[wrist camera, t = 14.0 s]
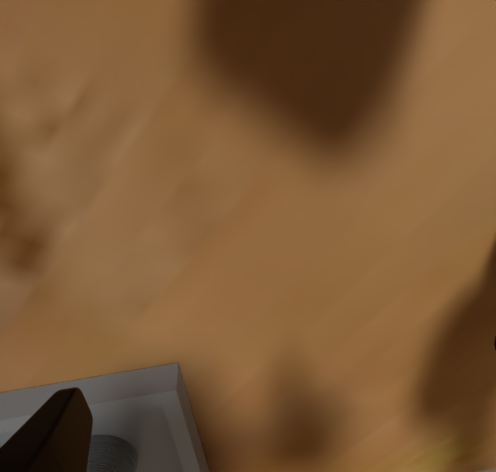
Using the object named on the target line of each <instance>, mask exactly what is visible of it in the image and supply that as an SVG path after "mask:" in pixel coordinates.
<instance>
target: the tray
mask: <svg viewBox="0 0 496 472" xmlns="http://www.w3.org/2000/svg"><path fill="white" fill-rule="evenodd" d="M72 387H78V388H79V389H81V391H82V393H83V395H84V397H85V399H86V402H87V404H88V406H89V408H90V410H91V413H92V417H93V427H92V434H91V435H111V436H116V437H119V438H121V439H124V440H125V441H127V442H128V443H130V444H131V445H132V446H133V447H134V448H135V450H136V452H137V455H138V462H137V468H136V472H209V469H208V465H207V462H206V458H205V455H204V451H203V448H202V444H201V441H200V437H199V434H198V430H197V427H196V423H195V419H194V416H193V412H192V409H191V405H190V402H189V398H188V395H187V391H186V388H185V384H184V381H183V377H182V373H181V370H180V366H179V363H174V364H168V365H162V366H156V367H150V368H144V369H138V370H132V371H127V372H121V373H115V374H109V375H103V376H97V377H91V378H85V379H79V380H73V381H68V382H62V383H56V384H50V385H44V386H38V387H32V388H26V389H20V390H14V391H9V392H3V393H0V448H1V447H2V446H3V445H4V444H5V443H6V442H7V441H8V440H9V439H10V438H11V437H12V436H13V435H14V433H15V432H16V431H17V430H18V429H19V428H20V427H21V426H22V425H23V424H24V423H25V422H26V421H27V420H28V419H29V418H30V417H31V416H32V415H33V414H34V413H35V412H36V411H37V410H38V409H39V408H40V407H41V406H42V405H43V404H44V403H45V402H46V401H47V400H48V399H49V398H50V397H51V396H52V395H53V394H54V393H55V392H57V391H58V390H61V389H67V388H72Z"/></svg>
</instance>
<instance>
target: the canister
mask: <svg viewBox="0 0 496 472" xmlns="http://www.w3.org/2000/svg"><path fill="white" fill-rule="evenodd" d="M137 462H138V455H137V452H136V450H135V448H134V447H133V446H132V445H131V444H130V443H128V442H127V441H125V440H124V439H121V438H119V437H116V436H111V435H91V442H90V449H89V457H88V464H87V471H86V472H136V468H137Z"/></svg>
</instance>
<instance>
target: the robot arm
mask: <svg viewBox="0 0 496 472" xmlns="http://www.w3.org/2000/svg"><path fill="white" fill-rule="evenodd" d="M494 346H495V350H496V336H495V341H494ZM92 427H93V417H92V413H91V410H90V408H89V406H88V404H87V402H86V399H85V397H84V395H83V393H82V391H81V389H79V388H78V387H72V388H67V389H61V390H58V391H57V392H55V393H54V394H53V395H52V396H51V397H50V398H49V399H48V400H47V401H46V402H45V403H44V404H43V405H42V406H41V407H40V408H39V409H38V410H37V411H36V412H35V413H34V414H33V415H32V416H31V417H30V418H29V419H28V420H27V421H26V422H25V423H24V424H23V425H22V426H21V427H20V428H19V429H18V430H17V431H16V432H15V433H14V435H13V436H12V437H11V438H10V439H9V440H8V441H7V442H6V443H5V444H4V445H3V446H2V447H1V448H0V472H86V471H87V464H88V457H89V449H90V442H91V434H92Z"/></svg>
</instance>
